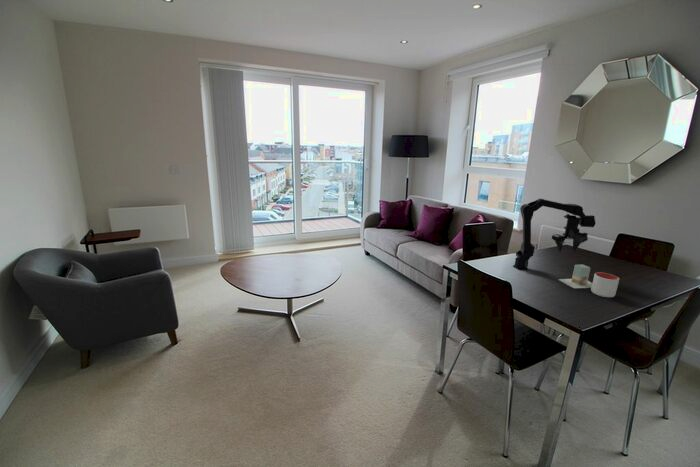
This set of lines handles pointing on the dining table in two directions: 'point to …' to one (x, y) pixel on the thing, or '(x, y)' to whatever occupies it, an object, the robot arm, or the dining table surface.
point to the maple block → (579, 280)
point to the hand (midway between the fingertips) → (566, 251)
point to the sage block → (582, 270)
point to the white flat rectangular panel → (568, 282)
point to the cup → (604, 284)
